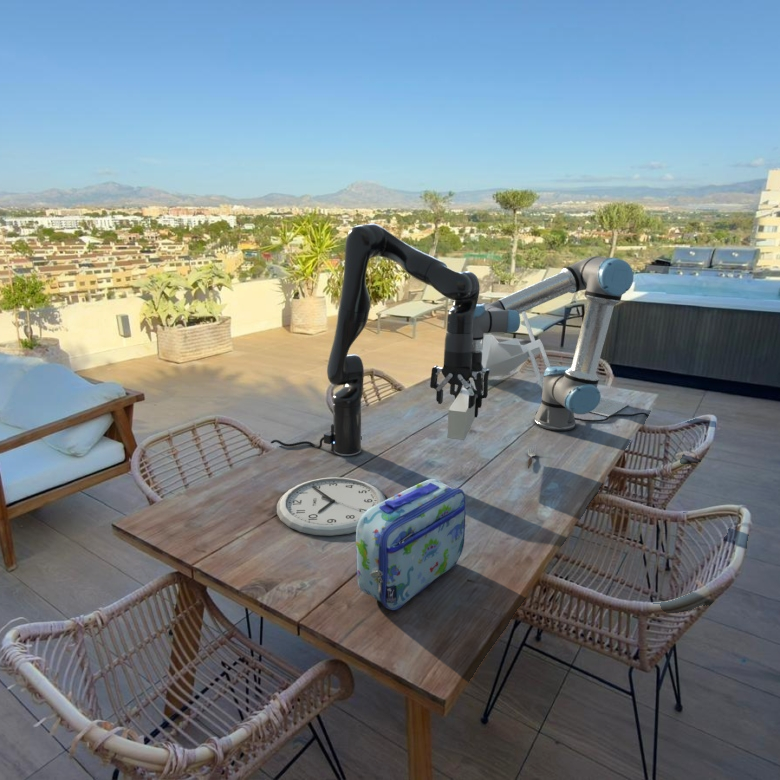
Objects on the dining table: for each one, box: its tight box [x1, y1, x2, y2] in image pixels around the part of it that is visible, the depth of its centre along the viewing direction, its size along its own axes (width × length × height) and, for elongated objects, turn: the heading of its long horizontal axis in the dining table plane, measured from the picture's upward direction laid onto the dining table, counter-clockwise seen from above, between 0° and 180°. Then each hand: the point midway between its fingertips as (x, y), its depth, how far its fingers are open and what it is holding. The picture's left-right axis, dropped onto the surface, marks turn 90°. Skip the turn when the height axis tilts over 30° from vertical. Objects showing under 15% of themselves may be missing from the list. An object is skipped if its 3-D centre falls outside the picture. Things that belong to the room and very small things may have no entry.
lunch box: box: [355, 478, 466, 611], centre depth 110 cm, size 26×11×21 cm, turn 134°
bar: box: [446, 387, 477, 441], centre depth 174 cm, size 25×5×9 cm, turn 162°
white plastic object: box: [481, 311, 551, 391], centre depth 256 cm, size 37×45×31 cm
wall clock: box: [276, 476, 387, 537], centre depth 142 cm, size 30×2×30 cm
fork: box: [527, 445, 537, 469], centre depth 172 cm, size 3×16×2 cm, turn 160°
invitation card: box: [589, 397, 629, 417], centre depth 226 cm, size 21×1×15 cm
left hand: (455, 405), depth 145 cm, fingers open, 8 cm apart
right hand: (467, 414), depth 184 cm, fingers closed on bar, 5 cm apart
